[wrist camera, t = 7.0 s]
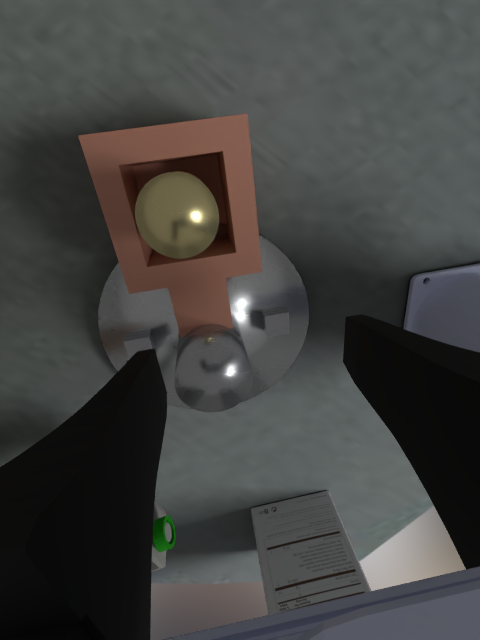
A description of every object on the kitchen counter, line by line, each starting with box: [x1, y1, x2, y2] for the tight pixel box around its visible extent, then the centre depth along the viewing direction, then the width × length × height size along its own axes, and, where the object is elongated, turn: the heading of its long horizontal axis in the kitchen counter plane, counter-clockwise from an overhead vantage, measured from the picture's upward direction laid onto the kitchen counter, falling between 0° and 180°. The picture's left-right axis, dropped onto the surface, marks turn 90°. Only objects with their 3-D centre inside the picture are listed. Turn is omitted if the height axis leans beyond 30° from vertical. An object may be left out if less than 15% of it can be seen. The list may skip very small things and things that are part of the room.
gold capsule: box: [135, 171, 219, 259], centre depth 13 cm, size 3×3×7 cm
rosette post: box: [98, 224, 309, 412], centre depth 18 cm, size 14×14×7 cm
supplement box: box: [251, 491, 371, 615], centre depth 28 cm, size 9×9×15 cm
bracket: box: [78, 114, 262, 337], centre depth 16 cm, size 7×10×4 cm
